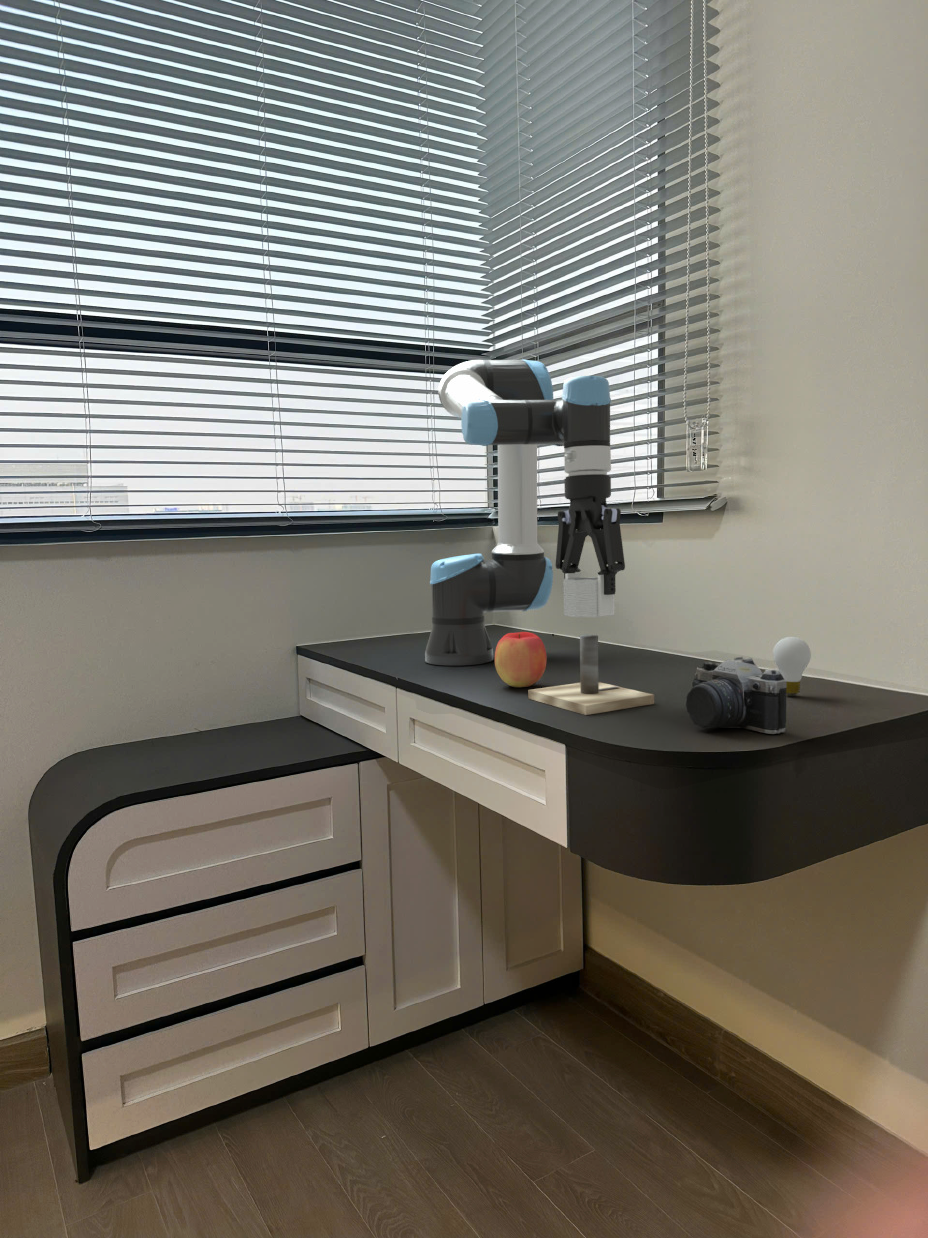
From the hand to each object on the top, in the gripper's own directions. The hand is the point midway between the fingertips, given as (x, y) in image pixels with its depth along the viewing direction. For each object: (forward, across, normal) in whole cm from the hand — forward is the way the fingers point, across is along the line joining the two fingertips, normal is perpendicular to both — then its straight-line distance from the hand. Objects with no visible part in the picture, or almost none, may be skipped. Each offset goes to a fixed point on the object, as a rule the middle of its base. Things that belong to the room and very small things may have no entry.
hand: (589, 613), depth 143 cm
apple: (+15, -18, -2) cm, 24 cm away
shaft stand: (+15, 0, 0) cm, 15 cm away
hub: (0, 0, 0) cm, 0 cm away
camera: (+15, +26, +4) cm, 30 cm away
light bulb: (+15, +17, +29) cm, 37 cm away
